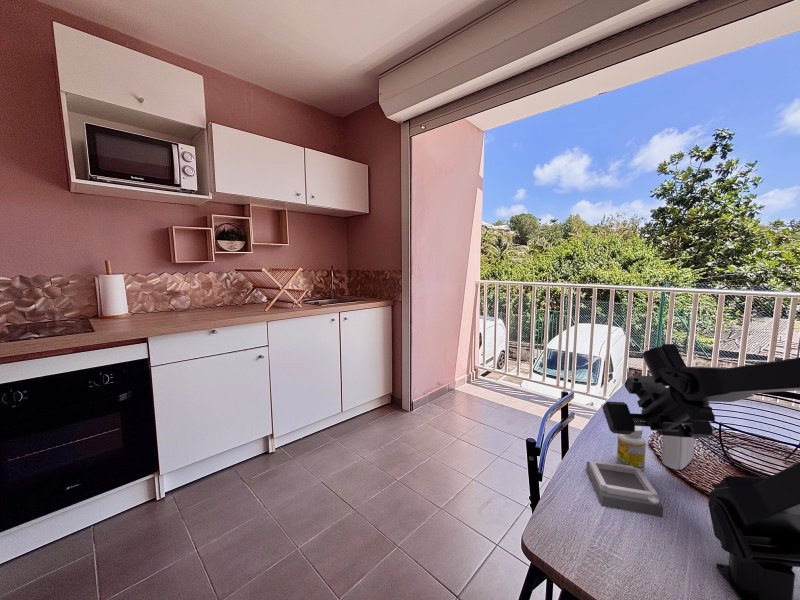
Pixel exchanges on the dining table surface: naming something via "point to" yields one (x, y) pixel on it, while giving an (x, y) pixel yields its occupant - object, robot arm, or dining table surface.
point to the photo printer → (677, 451)
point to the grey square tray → (623, 488)
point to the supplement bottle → (632, 449)
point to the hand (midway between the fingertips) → (636, 431)
